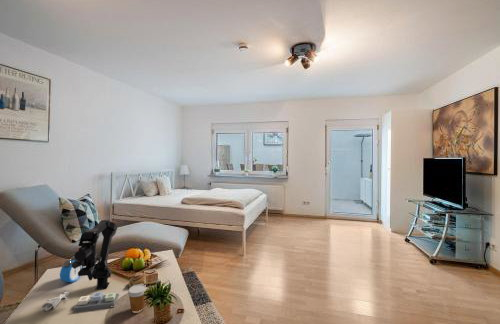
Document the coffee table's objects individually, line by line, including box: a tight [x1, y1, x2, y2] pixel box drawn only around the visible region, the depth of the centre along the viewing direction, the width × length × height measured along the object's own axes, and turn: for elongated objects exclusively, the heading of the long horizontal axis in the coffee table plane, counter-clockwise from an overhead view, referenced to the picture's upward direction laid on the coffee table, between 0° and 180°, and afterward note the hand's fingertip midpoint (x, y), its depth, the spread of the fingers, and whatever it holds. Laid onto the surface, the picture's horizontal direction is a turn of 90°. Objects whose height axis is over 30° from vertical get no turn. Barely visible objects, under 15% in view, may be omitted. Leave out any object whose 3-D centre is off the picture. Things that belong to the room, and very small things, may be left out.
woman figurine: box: [40, 290, 70, 312], centre depth 137 cm, size 12×4×18 cm
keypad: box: [73, 293, 120, 313], centre depth 138 cm, size 11×19×2 cm, turn 106°
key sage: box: [105, 292, 117, 302], centre depth 139 cm, size 4×4×2 cm
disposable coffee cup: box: [127, 284, 148, 311], centre depth 133 cm, size 10×10×12 cm
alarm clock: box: [59, 256, 84, 284], centre depth 160 cm, size 13×6×15 cm, turn 178°
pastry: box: [128, 272, 145, 289], centre depth 158 cm, size 13×15×8 cm
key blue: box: [91, 291, 104, 301], centre depth 137 cm, size 4×4×2 cm
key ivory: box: [77, 295, 91, 305], centre depth 136 cm, size 4×4×2 cm
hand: (90, 280), depth 140 cm, fingers closed
